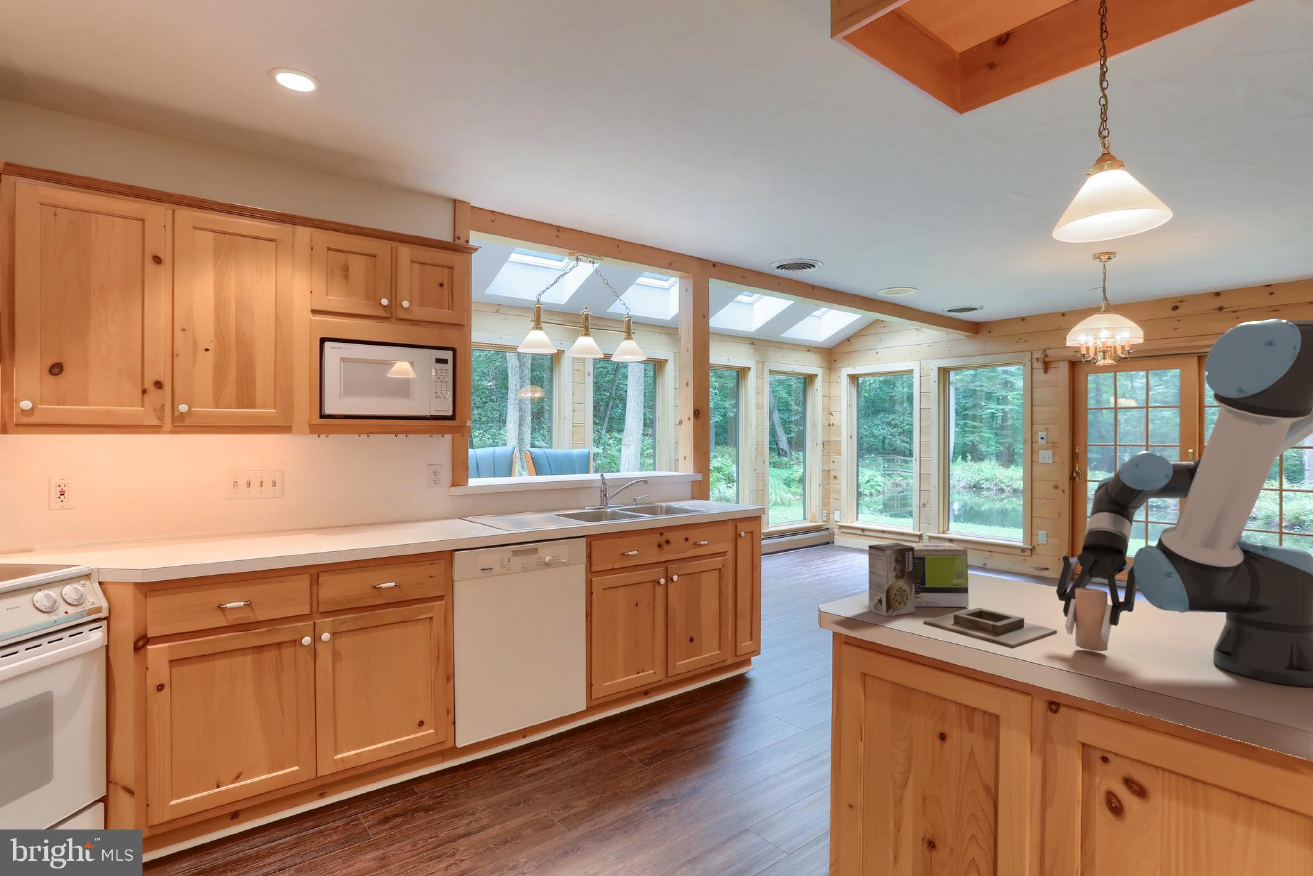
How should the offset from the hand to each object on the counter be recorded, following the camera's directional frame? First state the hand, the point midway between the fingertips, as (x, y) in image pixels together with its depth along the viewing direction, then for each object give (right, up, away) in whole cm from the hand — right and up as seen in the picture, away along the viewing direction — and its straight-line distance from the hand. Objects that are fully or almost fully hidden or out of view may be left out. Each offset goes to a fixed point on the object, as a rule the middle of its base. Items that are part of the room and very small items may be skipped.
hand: (1086, 633), depth 121 cm
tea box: (-12, -5, +40) cm, 42 cm away
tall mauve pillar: (+3, -3, +2) cm, 5 cm away
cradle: (-9, -5, +19) cm, 21 cm away
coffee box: (-26, -5, +32) cm, 41 cm away
